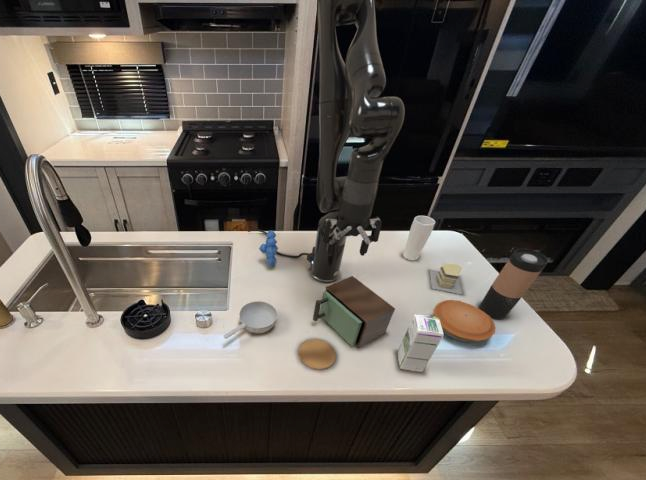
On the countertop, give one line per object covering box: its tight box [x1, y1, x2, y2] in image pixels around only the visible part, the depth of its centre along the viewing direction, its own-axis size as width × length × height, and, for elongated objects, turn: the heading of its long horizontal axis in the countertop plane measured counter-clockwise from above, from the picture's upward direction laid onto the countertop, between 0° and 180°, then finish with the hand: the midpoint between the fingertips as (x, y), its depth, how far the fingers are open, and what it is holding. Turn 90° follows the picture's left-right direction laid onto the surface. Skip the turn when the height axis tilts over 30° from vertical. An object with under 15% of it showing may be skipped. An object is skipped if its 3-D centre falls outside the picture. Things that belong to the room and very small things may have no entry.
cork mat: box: [298, 339, 337, 370], centre depth 83 cm, size 10×10×1 cm
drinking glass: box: [402, 215, 436, 261], centre depth 111 cm, size 7×7×15 cm
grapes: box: [258, 229, 279, 268], centre depth 110 cm, size 12×7×12 cm, turn 2°
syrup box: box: [396, 313, 445, 373], centre depth 76 cm, size 6×6×14 cm
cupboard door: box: [312, 290, 362, 347], centre depth 85 cm, size 14×5×9 cm, turn 30°
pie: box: [432, 299, 496, 343], centre depth 88 cm, size 15×16×5 cm
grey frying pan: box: [223, 300, 278, 339], centre depth 89 cm, size 11×18×4 cm, turn 134°
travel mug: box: [478, 248, 549, 320], centre depth 88 cm, size 8×8×20 cm
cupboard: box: [324, 275, 396, 349], centre depth 88 cm, size 16×10×10 cm, turn 30°
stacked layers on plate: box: [429, 263, 463, 295], centre depth 103 cm, size 10×9×6 cm
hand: (345, 254), depth 85 cm, fingers open, 8 cm apart
